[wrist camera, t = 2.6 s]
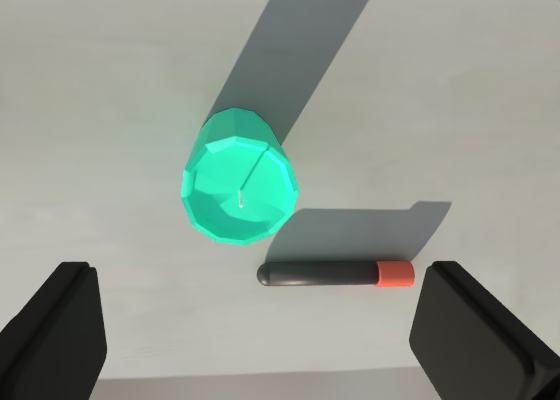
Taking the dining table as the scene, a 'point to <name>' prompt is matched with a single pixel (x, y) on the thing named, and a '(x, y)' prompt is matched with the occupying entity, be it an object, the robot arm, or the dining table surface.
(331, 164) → the dining table surface
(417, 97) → the dining table surface
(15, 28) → the dining table surface
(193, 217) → the candle
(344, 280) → the marker
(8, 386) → the robot arm
